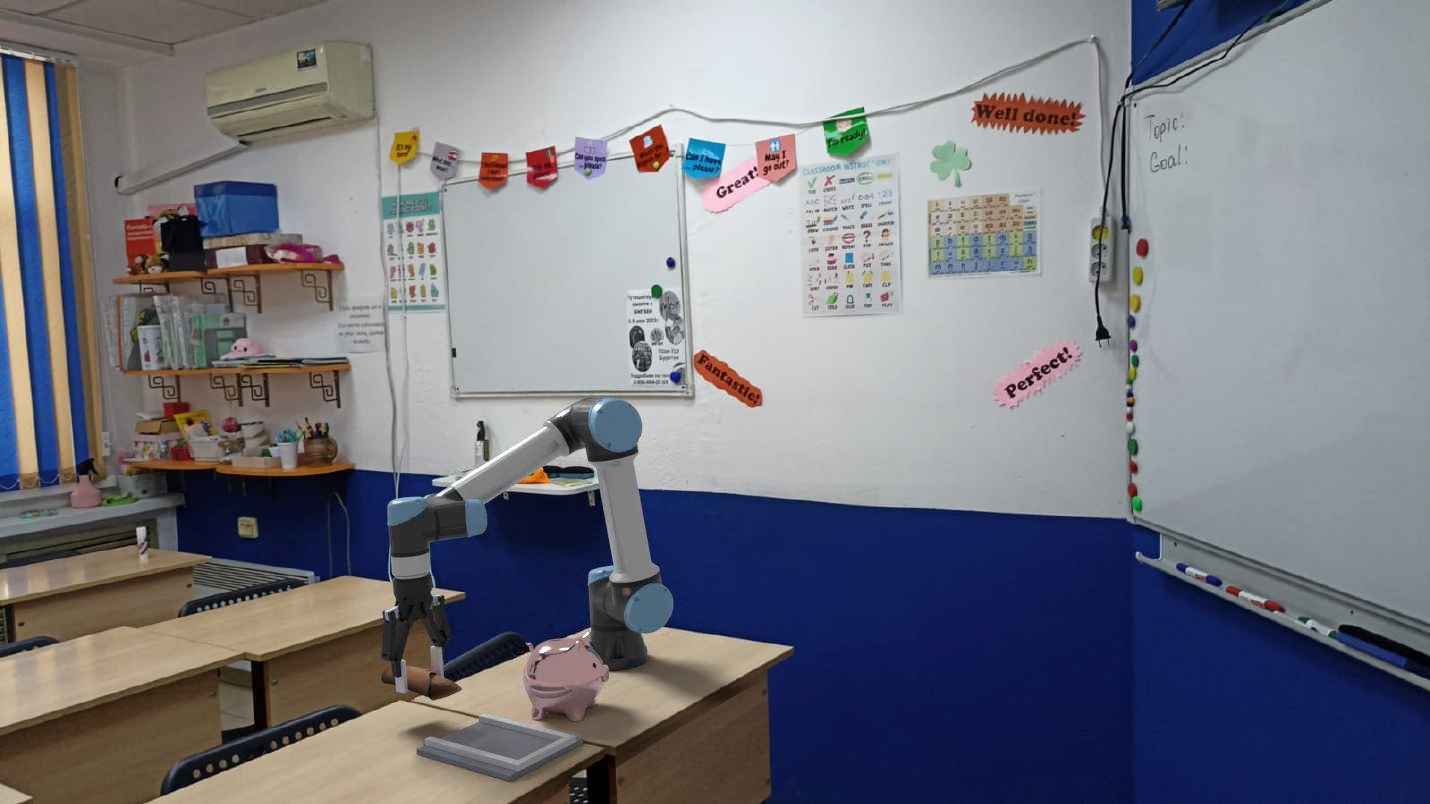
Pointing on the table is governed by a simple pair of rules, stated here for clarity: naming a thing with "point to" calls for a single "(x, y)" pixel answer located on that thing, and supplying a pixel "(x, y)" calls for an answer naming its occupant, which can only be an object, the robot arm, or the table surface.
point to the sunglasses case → (424, 682)
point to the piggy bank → (564, 677)
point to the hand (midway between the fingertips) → (420, 684)
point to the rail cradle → (499, 747)
